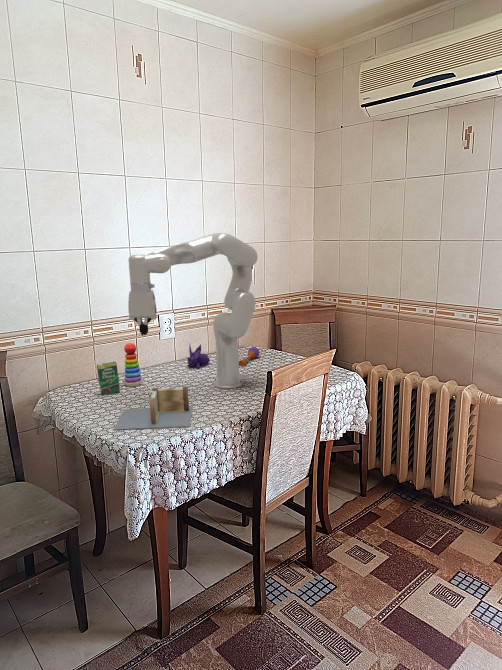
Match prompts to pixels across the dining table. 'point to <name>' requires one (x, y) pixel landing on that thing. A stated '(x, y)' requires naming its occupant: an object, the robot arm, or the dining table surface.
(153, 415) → the fence gate
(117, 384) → the coffee box
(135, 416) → the card
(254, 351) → the kendama
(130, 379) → the stacking toy
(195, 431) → the dining table surface
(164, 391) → the fence fixed
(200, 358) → the creature
